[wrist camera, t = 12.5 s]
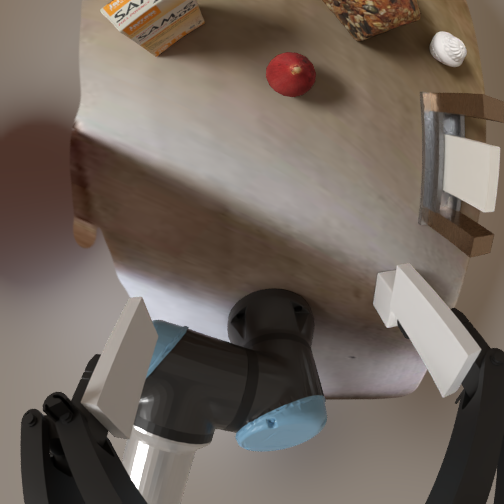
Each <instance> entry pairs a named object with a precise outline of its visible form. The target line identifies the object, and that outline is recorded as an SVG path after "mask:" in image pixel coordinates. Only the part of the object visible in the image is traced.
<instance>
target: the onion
mask: <svg viewBox="0 0 504 504" xmlns="http://www.w3.org/2000/svg"><path fill="white" fill-rule="evenodd" d="M315 77H316V72H315V69H314V66H313V64H312V63H311V62H310V61H309V60H308V59H307V57H305V56H303V55H300V54H298V53H291V52H286V53H283V54H279V55H277V56H276V57H275V58H274V59H272V60H271V61H270V63H269V65H268V66H267V68H266V78H267V80H268V83H269V85H270V86H271V87H272V88H273V89H274V90H275V91H276V92H278V93H280V94H282V95H284V96H289V97H296V96H300V95H303V94H304V93H306V92H307V91H309V90H310V89H311V87H312V86H313V84H314V82H315Z"/></svg>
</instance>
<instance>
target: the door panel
mask: <svg viewBox="0 0 504 504" xmlns="http://www.w3.org/2000/svg"><path fill="white" fill-rule="evenodd" d="M499 162H500V147H498V146H494V145H490V144H487V143H483V142H480V141H476V140H472V139H468V138H463V137H459V136H454V135H450V134H444V163H443V183H442V190H444V191H446V192H448V193H450V194H451V195H453V196H455V197H457V198H459V199H461V200H463V201H465V202H467V203H468V204H470V205H472V206H474V207H476V208H477V209H479V210H481V211H482V212H494V209H495V202H496V195H497V186H498V176H499Z"/></svg>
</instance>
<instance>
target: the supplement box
mask: <svg viewBox="0 0 504 504" xmlns="http://www.w3.org/2000/svg"><path fill="white" fill-rule="evenodd" d="M100 12H101V13H102V14H103V15H104V16H105V17H106V18H107V19H108V20H109V21H110V22H111V23H112V24H113V25H114V26H115V27H116V28H117V29H118V30H119V31H120V32H121V33H122V34H124V35H125V36H127V37H128V38H130V39H131V40H133V41H134V42H136V43H137V44H139V45H140V46H142V47H143V48H145V49H146V50H147V51H149V52H150V53H151V54H153V55H154V56H156V57H157V56H158V55H160V54H161V53H162V52H163V51H165V50H166V49H167V48H169V47H170V46H171V45H172V44H174V43H175V42H176V41H178V40H179V39H181V38H182V37H183V36H185V35H186V34H188V33H189V32H191V31H193V30H194V29H196V28H198V27H199V26H201V25H203V24H204V23H205V22H204V19H203V17H202V14H201V11H200V9H199V6H198V3H197V1H196V0H112V1H111V2H109V3H108V4H107V5H106V6H104V7H103V8H102V9H101V10H100Z"/></svg>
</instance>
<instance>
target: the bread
mask: <svg viewBox="0 0 504 504" xmlns="http://www.w3.org/2000/svg"><path fill="white" fill-rule="evenodd" d="M323 2H324V3H325V4H326V5H327V6H328V8H329V9H330V10H331V11H332V12H333V13H334V14H335V15H336V17H337V18H338V19H339V20H340V21H341V23H342V24H343V25H344V26H345V28H346V29H347V30H348V31H349V33H350V34H351V35H352V37H353V38H354V39H355V40H356V41H361V40H362V41H363V40H365V39H368V38H370V37H373V36H376V35H378V34H380V33H384V32H386V31H389V30H391V29H394V28H396V27H399V26H402V25H406V24H409V23H412V22H415V21H418V20H420V14H421V13H420V10H419V7H418V4H417V1H416V0H323Z"/></svg>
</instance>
